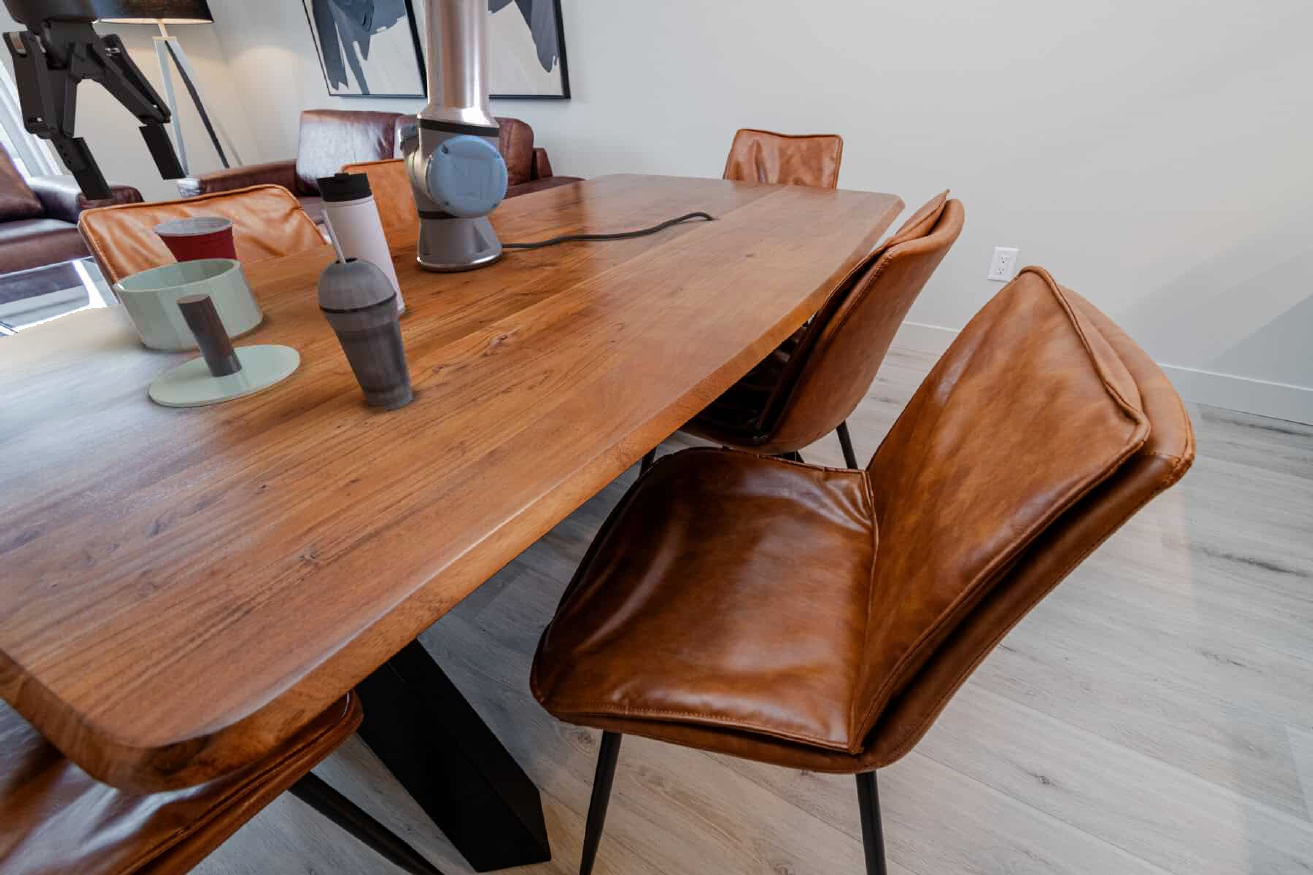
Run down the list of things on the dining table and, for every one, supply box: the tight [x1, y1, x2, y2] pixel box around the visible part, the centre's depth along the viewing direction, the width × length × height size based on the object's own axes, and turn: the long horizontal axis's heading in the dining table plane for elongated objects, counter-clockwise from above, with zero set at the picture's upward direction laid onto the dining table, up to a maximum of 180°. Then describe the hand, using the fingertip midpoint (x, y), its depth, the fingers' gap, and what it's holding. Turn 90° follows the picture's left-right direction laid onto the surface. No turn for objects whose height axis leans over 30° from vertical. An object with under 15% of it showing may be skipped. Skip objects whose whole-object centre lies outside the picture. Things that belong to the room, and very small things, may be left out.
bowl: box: [112, 258, 264, 351], centre depth 84 cm, size 15×15×8 cm
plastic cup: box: [151, 215, 238, 263], centre depth 98 cm, size 11×11×12 cm
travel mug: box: [315, 171, 406, 316], centre depth 83 cm, size 6×7×20 cm
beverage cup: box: [316, 209, 414, 411], centre depth 61 cm, size 7×7×20 cm
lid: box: [148, 294, 302, 408], centre depth 70 cm, size 16×16×10 cm
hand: (140, 188), depth 76 cm, fingers open, 13 cm apart
